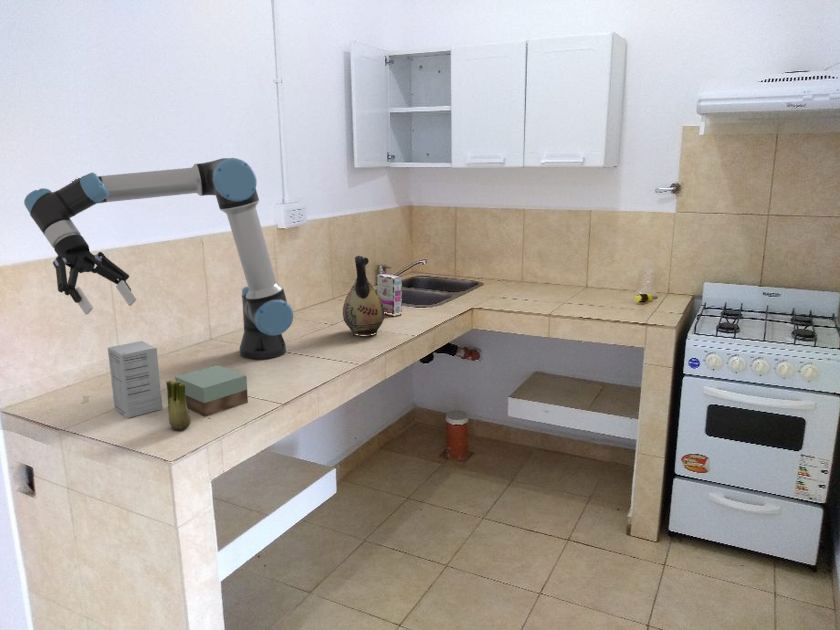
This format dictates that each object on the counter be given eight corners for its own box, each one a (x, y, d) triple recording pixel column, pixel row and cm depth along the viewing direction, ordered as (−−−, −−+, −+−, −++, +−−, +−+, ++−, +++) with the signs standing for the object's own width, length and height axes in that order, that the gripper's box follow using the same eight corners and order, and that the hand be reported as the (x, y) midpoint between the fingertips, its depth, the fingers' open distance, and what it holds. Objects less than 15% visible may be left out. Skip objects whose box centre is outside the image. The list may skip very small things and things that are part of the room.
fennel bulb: (166, 426, 159) (162, 379, 156) (187, 421, 162) (183, 376, 159) (173, 434, 154) (169, 386, 151) (194, 429, 157) (190, 382, 154)
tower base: (219, 392, 182) (219, 378, 181) (247, 403, 174) (247, 389, 173) (177, 405, 173) (176, 391, 172) (205, 418, 165) (204, 403, 164)
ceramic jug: (346, 328, 250) (345, 251, 243) (386, 329, 250) (386, 251, 242) (339, 340, 234) (337, 258, 226) (382, 341, 233) (381, 258, 226)
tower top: (219, 378, 182) (218, 365, 181) (247, 389, 174) (246, 375, 173) (176, 391, 172) (175, 376, 171) (204, 403, 164) (203, 388, 163)
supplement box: (163, 409, 169) (158, 347, 165) (127, 419, 163) (120, 355, 159) (148, 399, 175) (143, 339, 171) (113, 408, 169) (106, 346, 165)
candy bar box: (402, 315, 271) (402, 276, 267) (393, 317, 268) (393, 278, 264) (385, 310, 279) (385, 273, 275) (376, 312, 276) (376, 274, 272)
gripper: (100, 247, 182) (142, 307, 179) (15, 255, 159) (61, 324, 157) (114, 230, 179) (156, 291, 176) (29, 236, 156) (76, 306, 154)
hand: (112, 307), depth 167 cm, fingers open, 13 cm apart
